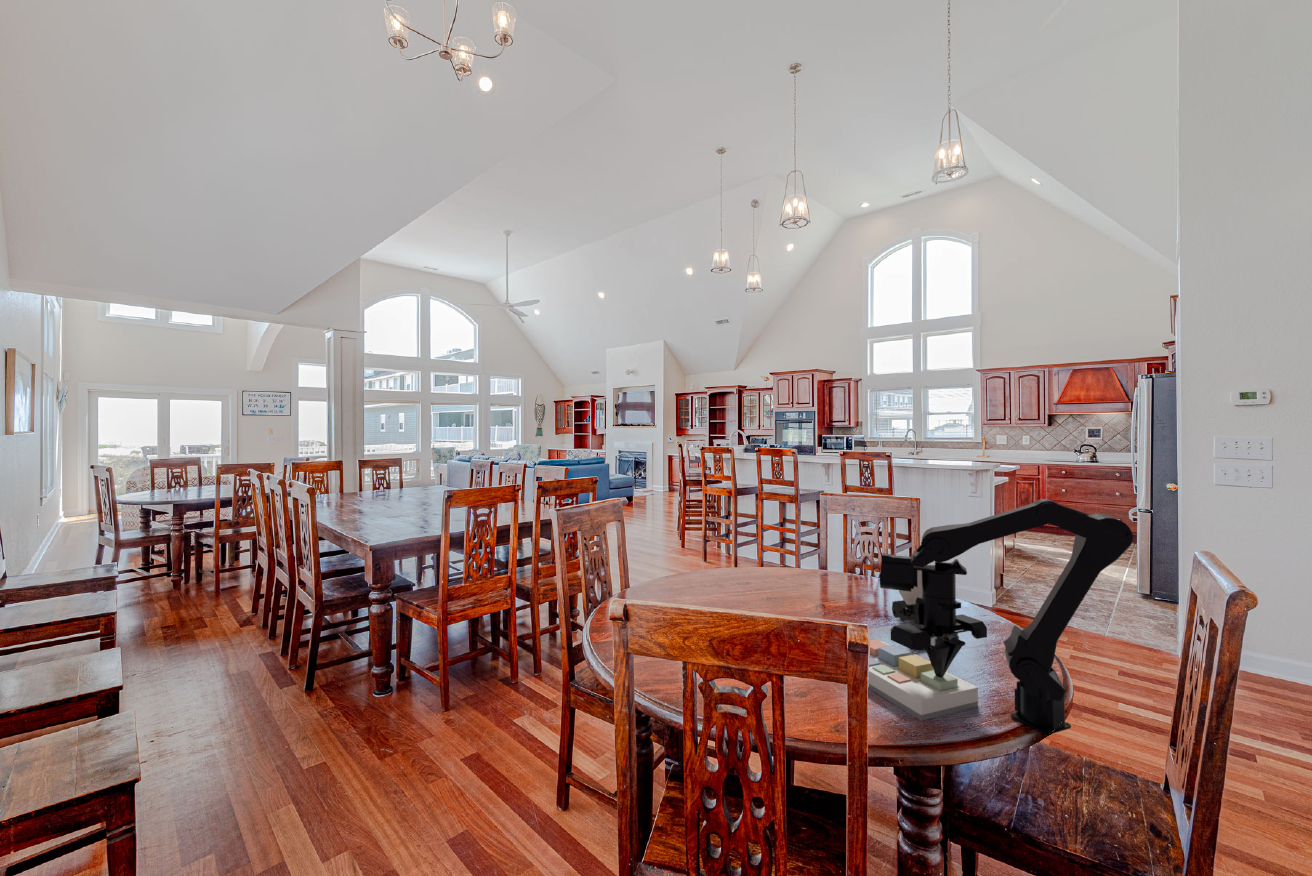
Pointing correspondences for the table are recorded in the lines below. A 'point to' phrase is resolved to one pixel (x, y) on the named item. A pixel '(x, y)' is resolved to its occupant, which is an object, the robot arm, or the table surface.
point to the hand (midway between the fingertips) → (939, 676)
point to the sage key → (939, 681)
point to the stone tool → (913, 591)
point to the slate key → (892, 654)
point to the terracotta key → (875, 647)
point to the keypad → (918, 692)
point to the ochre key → (914, 665)
